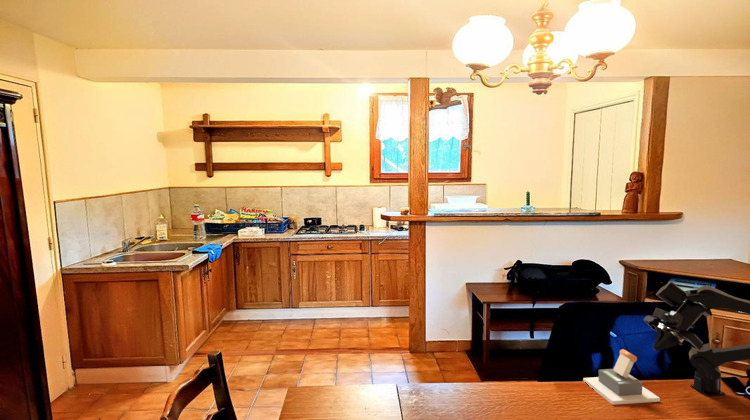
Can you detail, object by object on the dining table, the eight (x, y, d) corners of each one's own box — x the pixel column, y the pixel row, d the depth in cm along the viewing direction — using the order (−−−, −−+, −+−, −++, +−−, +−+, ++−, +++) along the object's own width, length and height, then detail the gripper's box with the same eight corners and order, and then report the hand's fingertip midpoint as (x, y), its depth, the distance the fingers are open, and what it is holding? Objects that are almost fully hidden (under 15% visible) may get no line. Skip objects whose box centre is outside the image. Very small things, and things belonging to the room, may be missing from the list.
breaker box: (625, 378, 138) (625, 363, 138) (659, 401, 123) (660, 385, 123) (583, 381, 137) (583, 366, 136) (612, 404, 122) (612, 388, 121)
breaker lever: (617, 371, 132) (626, 350, 132) (628, 378, 127) (638, 357, 127) (611, 369, 132) (621, 348, 132) (622, 376, 127) (632, 354, 127)
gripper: (648, 293, 139) (619, 324, 139) (695, 308, 120) (661, 345, 120) (668, 313, 140) (639, 344, 140) (718, 332, 121) (684, 368, 121)
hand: (654, 349), depth 130 cm, fingers closed
